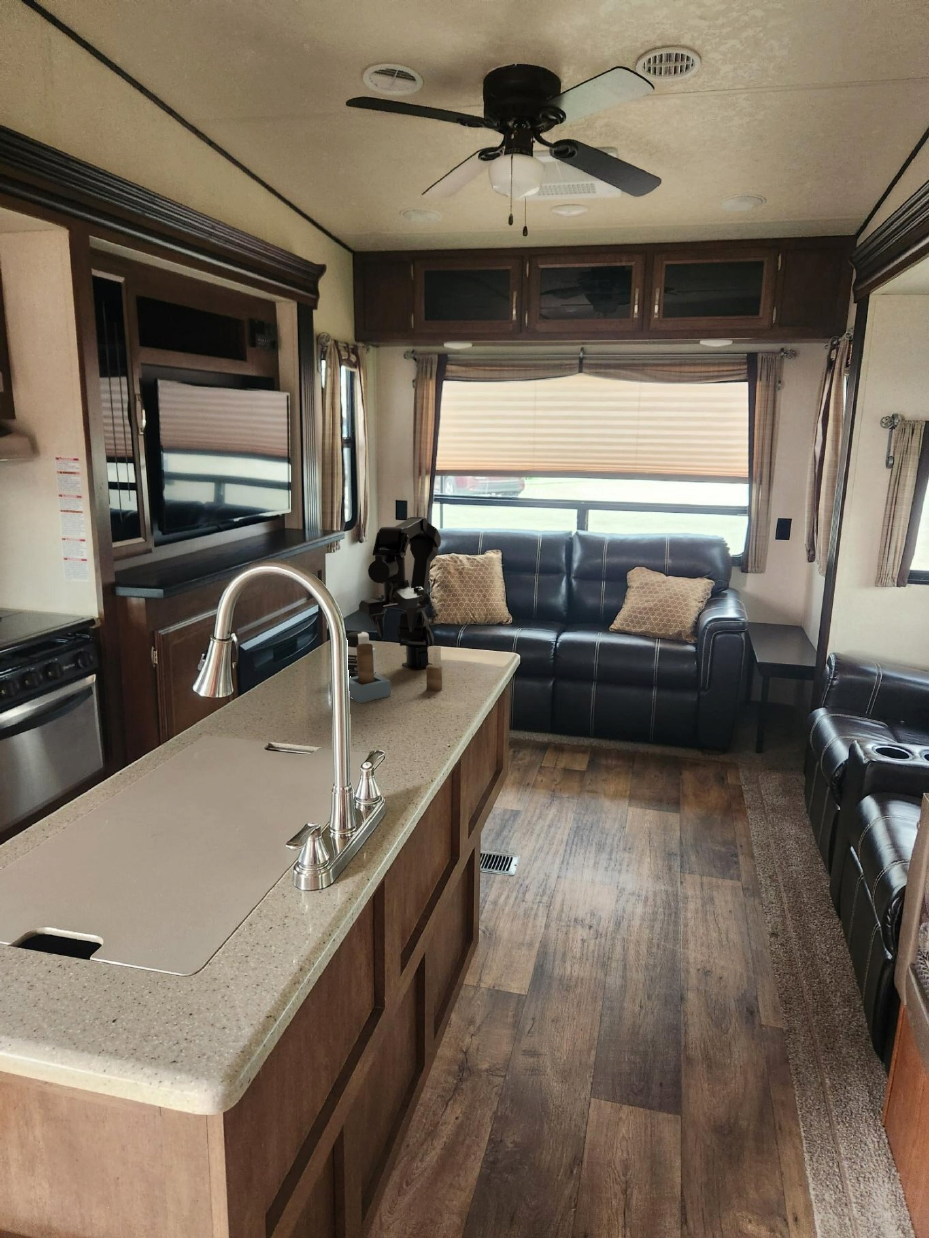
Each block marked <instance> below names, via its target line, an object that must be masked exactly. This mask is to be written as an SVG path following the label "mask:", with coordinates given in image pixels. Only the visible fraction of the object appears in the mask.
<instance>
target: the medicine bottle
mask: <svg viewBox="0 0 929 1238" xmlns="http://www.w3.org/2000/svg"><path fill="white" fill-rule="evenodd" d="M346 636H347V640H348V670H349V678H350V676H351V677H355V676H358V665H357V645H359V644H370V639H369V638H370V635H369V633H368V632H366V631H360V630H359V631H357V630H356V631H351V632H349V633H347V634H346ZM376 658H377V657H376V648H375V647H373V664H374V674H376V673H377V660H376ZM375 672H376V673H375Z"/></svg>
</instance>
